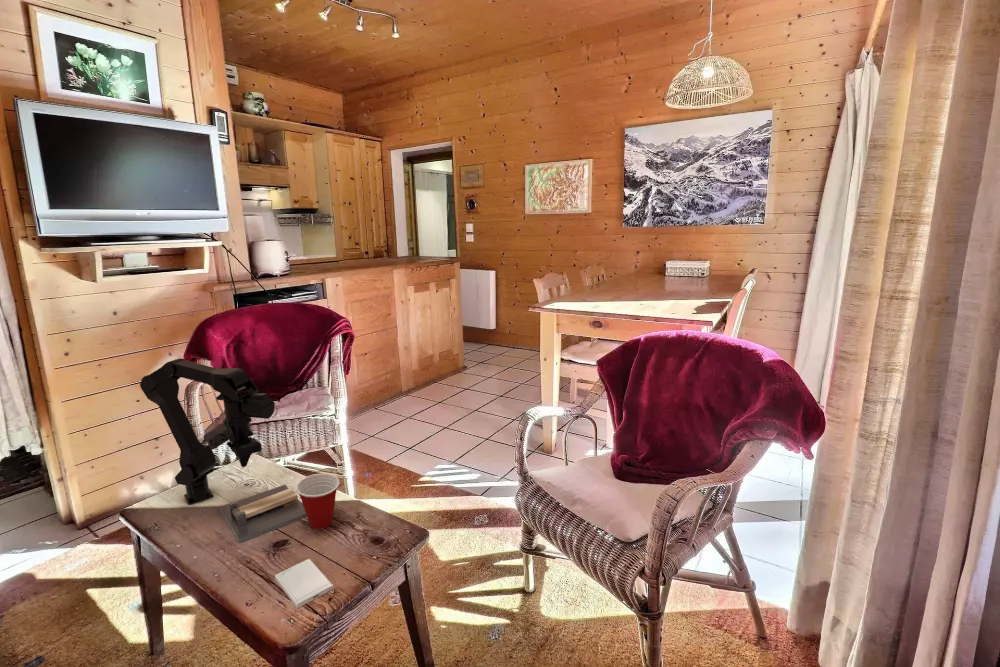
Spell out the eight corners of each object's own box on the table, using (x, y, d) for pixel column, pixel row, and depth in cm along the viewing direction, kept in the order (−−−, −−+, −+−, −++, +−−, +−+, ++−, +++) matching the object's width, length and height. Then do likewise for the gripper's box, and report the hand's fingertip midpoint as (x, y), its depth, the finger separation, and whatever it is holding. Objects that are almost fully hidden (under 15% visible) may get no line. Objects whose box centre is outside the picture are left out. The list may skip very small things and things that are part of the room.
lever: (232, 515, 137) (231, 509, 136) (291, 492, 147) (290, 487, 146) (237, 523, 133) (236, 517, 133) (297, 499, 143) (297, 493, 143)
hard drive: (274, 575, 114) (296, 604, 105) (309, 557, 119) (333, 584, 110) (275, 581, 114) (297, 610, 105) (310, 564, 119) (334, 590, 111)
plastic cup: (316, 541, 127) (311, 498, 124) (292, 526, 133) (287, 485, 131) (351, 520, 136) (347, 479, 133) (326, 507, 142) (322, 468, 139)
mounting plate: (219, 509, 142) (217, 496, 141) (285, 487, 153) (283, 474, 152) (239, 543, 127) (236, 528, 126) (310, 515, 138) (308, 501, 137)
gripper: (196, 412, 140) (204, 463, 144) (212, 433, 126) (220, 489, 130) (240, 403, 147) (246, 452, 151) (259, 422, 133) (265, 475, 137)
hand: (243, 466), depth 142 cm, fingers closed
